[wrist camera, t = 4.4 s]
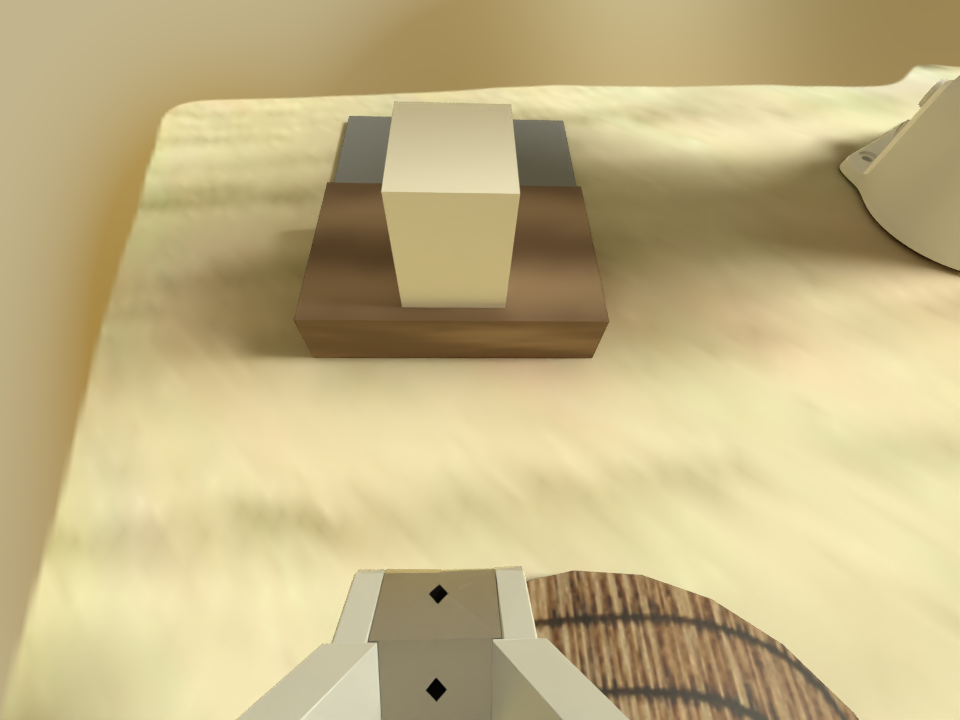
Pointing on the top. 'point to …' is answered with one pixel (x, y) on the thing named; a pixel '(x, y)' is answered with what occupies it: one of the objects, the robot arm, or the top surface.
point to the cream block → (451, 202)
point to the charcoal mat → (535, 145)
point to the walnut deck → (452, 331)
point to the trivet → (674, 652)
